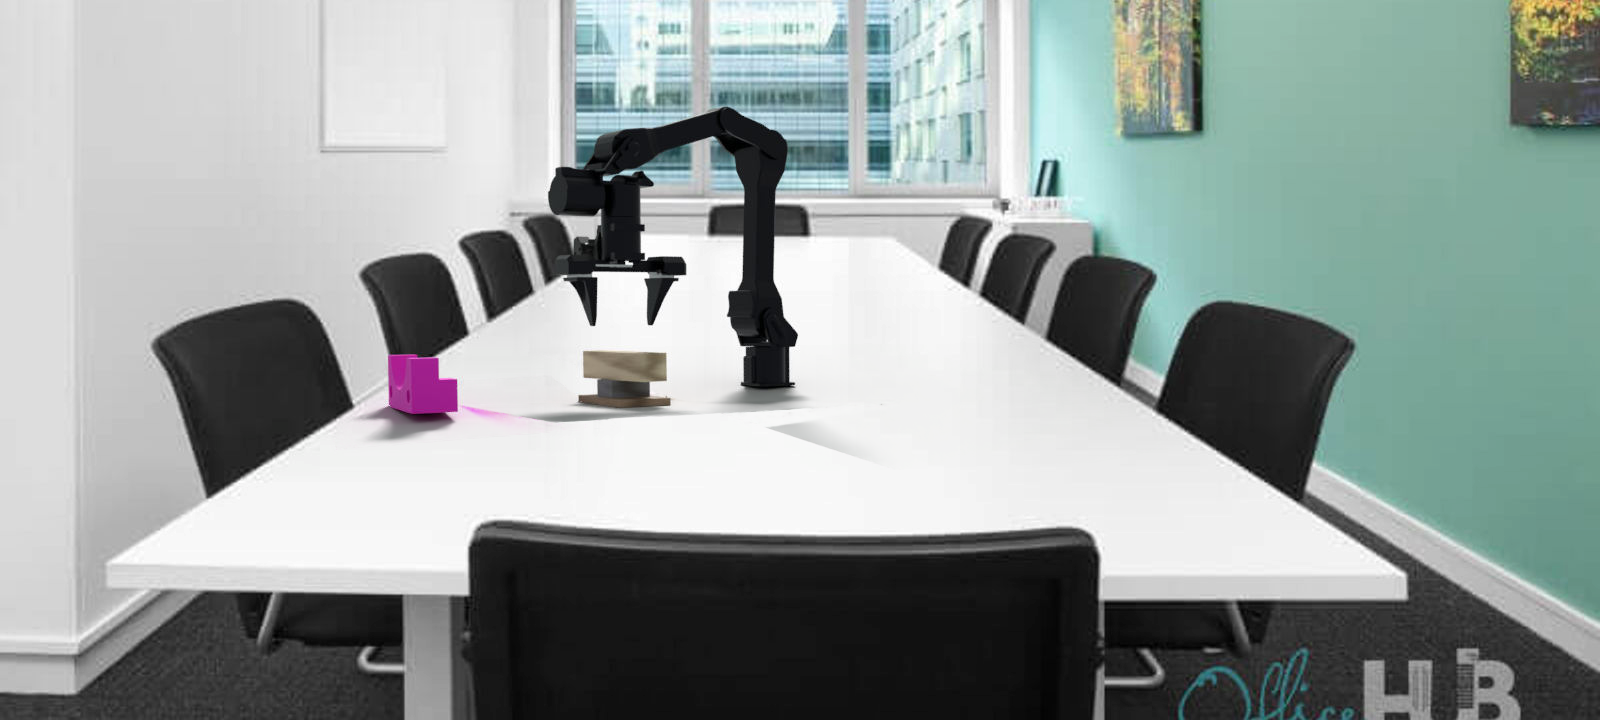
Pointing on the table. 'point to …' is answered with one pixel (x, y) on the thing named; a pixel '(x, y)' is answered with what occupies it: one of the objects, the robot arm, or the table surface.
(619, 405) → the fulcrum stand
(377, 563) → the table surface
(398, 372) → the toy block
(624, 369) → the beam
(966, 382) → the table surface
